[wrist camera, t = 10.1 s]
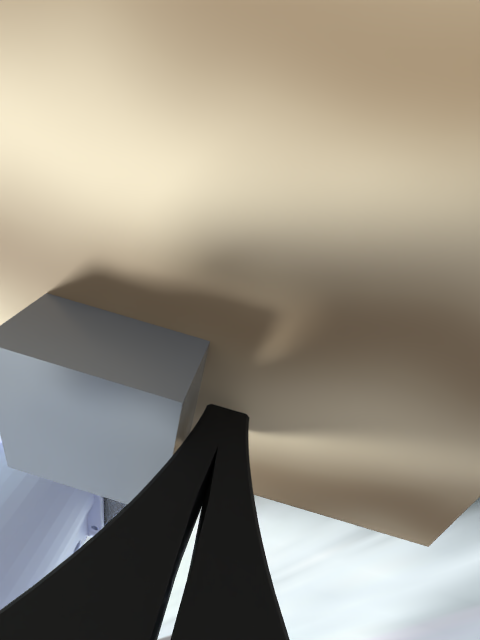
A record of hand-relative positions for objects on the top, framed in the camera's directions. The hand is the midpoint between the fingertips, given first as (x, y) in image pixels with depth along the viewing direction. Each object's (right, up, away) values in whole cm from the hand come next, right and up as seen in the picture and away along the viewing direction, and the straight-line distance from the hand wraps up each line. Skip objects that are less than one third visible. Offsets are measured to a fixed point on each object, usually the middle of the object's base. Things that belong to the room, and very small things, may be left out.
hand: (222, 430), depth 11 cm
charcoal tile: (-3, +1, +1) cm, 4 cm away
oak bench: (+1, +5, +2) cm, 6 cm away
